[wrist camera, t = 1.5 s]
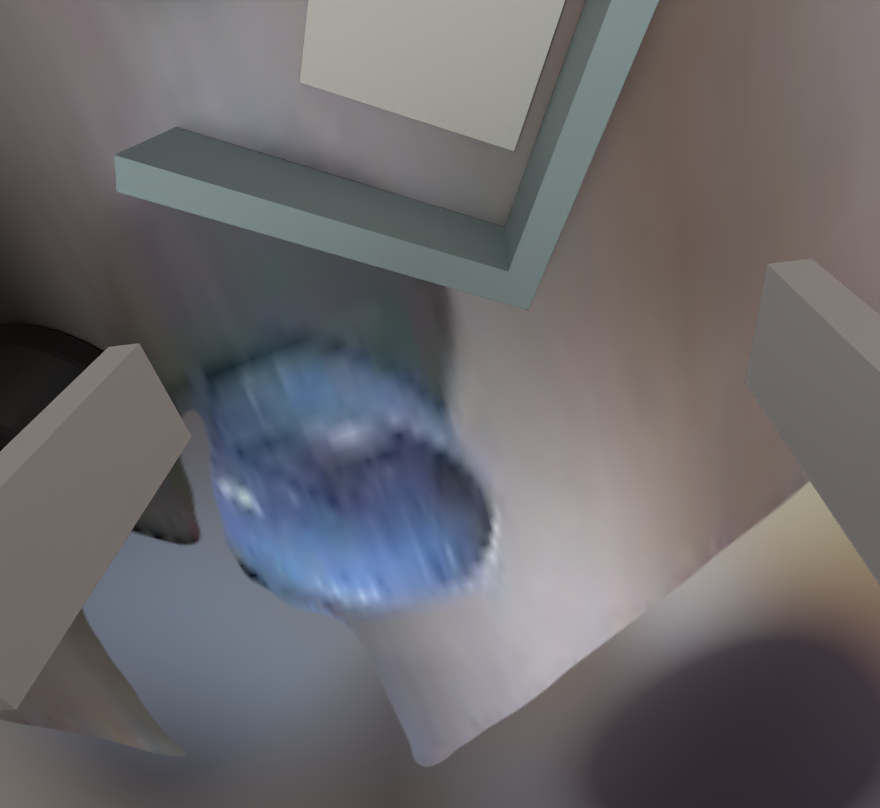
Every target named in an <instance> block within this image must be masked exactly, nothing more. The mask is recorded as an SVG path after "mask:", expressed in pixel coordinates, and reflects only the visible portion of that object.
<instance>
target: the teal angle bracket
mask: <svg viewBox="0 0 880 808" xmlns="http://www.w3.org/2000/svg"><path fill="white" fill-rule="evenodd" d="M658 2H659V0H586V1H585V4H584V7H583V10H582V12H581V15H580V18H579V21H578V24H577V26H576V29H575V32H574V35H573V38H572V40H571V43H570V46H569V49H568V52H567V54H566V57H565V60H564V63H563V66H562V68H561V71H560V74H559V77H558V80H557V82H556V85H555V88H554V91H553V94H552V97H551V99H550V102H549V105H548V108H547V111H546V113H545V116H544V119H543V122H542V125H541V127H540V130H539V133H538V136H537V139H536V141H535V144H534V147H533V150H532V153H531V155H530V158H529V161H528V164H527V167H526V169H525V172H524V175H523V178H522V181H521V183H520V186H519V189H518V192H517V195H516V197H515V200H514V203H513V206H512V209H511V211H510V214H509V217H508V220H507V223H506V225H505V227H502V226H499V225H495V224H492V223H489V222H486V221H482V220H479V219H476V218H473V217H469V216H466V215H463V214H459V213H456V212H453V211H450V210H446V209H443V208H440V207H436V206H433V205H430V204H427V203H423V202H420V201H417V200H413V199H410V198H407V197H404V196H400V195H397V194H394V193H390V192H387V191H384V190H381V189H377V188H374V187H371V186H368V185H364V184H361V183H358V182H354V181H351V180H348V179H345V178H341V177H338V176H335V175H331V174H328V173H325V172H322V171H318V170H315V169H312V168H308V167H305V166H302V165H299V164H295V163H292V162H289V161H285V160H282V159H279V158H276V157H272V156H269V155H266V154H262V153H259V152H256V151H253V150H249V149H246V148H243V147H240V146H236V145H233V144H230V143H226V142H223V141H220V140H217V139H213V138H210V137H207V136H203V135H200V134H197V133H194V132H190V131H187V130H184V129H180V128H177V127H175V128H173V129H171V130H168V131H166V132H164V133H162V134H160V135H157V136H155V137H153V138H151V139H149V140H146V141H144V142H142V143H140V144H138V145H135V146H133V147H131V148H129V149H127V150H124V151H122V152H120V153H118V154H115V155H114V160H115V173H116V186H117V192H120V193H124V194H127V195H130V196H134V197H137V198H141V199H144V200H148V201H151V202H155V203H158V204H162V205H165V206H169V207H172V208H175V209H179V210H182V211H186V212H189V213H193V214H196V215H200V216H203V217H207V218H210V219H214V220H217V221H221V222H224V223H227V224H231V225H234V226H238V227H241V228H245V229H248V230H252V231H255V232H259V233H262V234H266V235H269V236H272V237H276V238H279V239H283V240H286V241H290V242H293V243H297V244H300V245H304V246H307V247H311V248H314V249H318V250H321V251H324V252H328V253H331V254H335V255H338V256H342V257H345V258H349V259H352V260H356V261H359V262H363V263H366V264H369V265H373V266H376V267H380V268H383V269H387V270H390V271H394V272H397V273H401V274H404V275H408V276H411V277H415V278H418V279H421V280H425V281H428V282H432V283H435V284H439V285H442V286H446V287H449V288H453V289H456V290H460V291H463V292H466V293H470V294H473V295H477V296H480V297H484V298H487V299H491V300H494V301H498V302H501V303H505V304H508V305H511V306H515V307H518V308H522V309H525V310H528V309H529V307H530V305H531V302H532V300H533V298H534V295H535V293H536V290H537V288H538V286H539V283H540V281H541V279H542V276H543V274H544V271H545V269H546V267H547V264H548V262H549V260H550V257H551V255H552V253H553V250H554V248H555V245H556V243H557V241H558V238H559V236H560V234H561V231H562V229H563V226H564V224H565V222H566V219H567V217H568V215H569V212H570V210H571V208H572V205H573V203H574V200H575V198H576V196H577V193H578V191H579V189H580V186H581V184H582V181H583V179H584V177H585V174H586V172H587V170H588V167H589V165H590V163H591V160H592V158H593V155H594V153H595V151H596V148H597V146H598V144H599V141H600V139H601V136H602V134H603V132H604V129H605V127H606V125H607V122H608V120H609V118H610V115H611V113H612V110H613V108H614V106H615V103H616V101H617V99H618V96H619V94H620V92H621V89H622V87H623V84H624V82H625V80H626V77H627V75H628V73H629V70H630V68H631V65H632V63H633V61H634V58H635V56H636V54H637V51H638V49H639V47H640V44H641V42H642V39H643V37H644V35H645V32H646V30H647V28H648V25H649V23H650V20H651V18H652V16H653V13H654V11H655V9H656V6H657V4H658Z"/></svg>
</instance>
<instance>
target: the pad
mask: <svg viewBox="0 0 880 808" xmlns="http://www.w3.org/2000/svg"><path fill="white" fill-rule="evenodd" d="M564 3H565V0H308V9H307V18H306V27H305V37H304V46H303V55H302V64H301V74H300V83H303V84H306V85H309V86H312V87H315V88H319V89H322V90H325V91H328V92H331V93H334V94H337V95H340V96H343V97H347V98H350V99H353V100H356V101H359V102H362V103H365V104H368V105H371V106H375V107H378V108H381V109H384V110H387V111H390V112H393V113H396V114H399V115H403V116H406V117H409V118H412V119H415V120H418V121H421V122H424V123H427V124H431V125H434V126H437V127H440V128H443V129H446V130H449V131H452V132H455V133H459V134H462V135H465V136H468V137H471V138H474V139H477V140H480V141H483V142H487V143H490V144H493V145H496V146H499V147H502V148H505V149H508V150H511V151H514V150H515V147H516V144H517V142H518V139H519V136H520V133H521V130H522V127H523V124H524V121H525V118H526V115H527V112H528V109H529V106H530V103H531V100H532V97H533V94H534V91H535V88H536V85H537V82H538V79H539V76H540V73H541V71H542V68H543V65H544V62H545V59H546V56H547V53H548V50H549V47H550V44H551V41H552V38H553V35H554V32H555V29H556V26H557V23H558V20H559V17H560V14H561V11H562V8H563V5H564Z"/></svg>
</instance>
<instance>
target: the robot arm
mask: <svg viewBox="0 0 880 808" xmlns="http://www.w3.org/2000/svg"><path fill="white" fill-rule="evenodd" d="M745 384H746V386H747V387H748V389H749V390H750V392H751V393H752V395H753V396H754V398H755V399H756V401H757V402H758V404H759V405H760V407H761V408H762V410H763V411H764V413H765V414H766V416H767V417H768V419H769V420H770V422H771V423H772V425H773V426H774V428H775V429H776V431H777V432H778V434H779V435H780V437H781V438H782V440H783V441H784V443H785V444H786V446H787V447H788V449H789V450H790V452H791V453H792V455H793V456H794V458H795V459H796V461H797V462H798V464H799V465H800V467H801V468H802V470H803V471H804V473H805V474H806V476H807V477H808V479H809V480H810V482H811V483H812V485H813V486H814V487H815V489H816V490H817V492H818V493H819V495H820V497H821V498H822V500H823V501H824V502H825V504H826V505H827V507H828V509H829V510H830V512H831V513H832V515H833V516H834V518H835V519H836V521H837V522H838V524H839V525H840V526H841V528H842V530H843V531H844V532H845V534H846V536H847V537H848V539H849V540H850V541H851V543H852V545H853V546H854V548H855V549H856V550H857V552H858V553H859V555H860V557H861V558H862V559H863V561H864V563H865V564H866V566H867V567H868V568H869V570H870V572H871V573H872V575H873V576H874V577H875V579H876V580H877V582H878V583H879V585H880V315H879V314H878V313H877V312H876V311H875V310H873V309H872V308H871V307H870V306H868V305H867V304H866V303H865V302H864V301H862V300H861V299H860V298H859V297H857V296H856V295H855V294H854V293H853V292H851V291H850V290H849V289H848V288H847V287H845V286H844V285H843V284H842V283H840V282H839V281H838V280H837V279H836V278H834V277H833V276H832V275H831V274H829V273H828V272H827V271H826V270H825V269H823V268H822V267H821V266H820V265H819V264H817V263H816V262H815V261H814V260H812V259H803V260H796V261H788V262H780V263H772V264H767V269H766V274H765V279H764V285H763V290H762V295H761V301H760V306H759V311H758V316H757V322H756V327H755V332H754V338H753V343H752V348H751V353H750V359H749V364H748V369H747V375H746V380H745ZM191 437H192V436H191V435H190V433H189V431H188V429H187V428H186V426H185V424H184V422H183V420H182V418H181V417H180V415H179V413H178V411H177V410H176V408H175V406H174V404H173V402H172V401H171V399H170V397H169V395H168V394H167V392H166V390H165V388H164V386H163V385H162V383H161V381H160V379H159V378H158V376H157V374H156V372H155V370H154V369H153V367H152V365H151V363H150V361H149V360H148V358H147V356H146V354H145V353H144V351H143V349H142V347H141V345H140V344H139V343H137V344H129V345H121V346H113V347H108V348H107V349H106V350H105V351H104V352H103V353H102V352H101V351H99V350H97V349H96V348H94V347H92V346H90V345H88V344H86V343H85V342H82V341H80V340H78V339H76V338H74V337H71V336H69V335H66V334H63V333H60V332H57V331H54V330H50V329H46V328H42V327H37V326H31V325H22V324H5V325H0V710H16V709H17V708H18V706H19V704H20V703H21V701H22V700H23V698H24V697H25V695H26V694H27V692H28V691H29V689H30V687H31V686H32V684H33V683H34V681H35V680H36V678H37V677H38V675H39V673H40V672H41V670H42V669H43V667H44V666H45V664H46V663H47V661H48V659H49V658H50V656H51V655H52V653H53V652H54V650H55V649H56V647H57V645H58V644H59V642H60V641H61V639H62V638H63V636H64V635H65V633H66V631H67V630H68V628H69V627H70V625H71V624H72V622H73V621H74V619H75V618H76V616H77V614H78V613H79V611H80V610H81V608H82V607H83V605H84V604H85V602H86V600H87V599H88V597H89V596H90V594H91V593H92V591H93V590H94V588H95V586H96V585H97V583H98V582H99V580H100V579H101V577H102V576H103V574H104V572H105V571H106V569H107V568H108V566H109V565H110V563H111V562H112V560H113V558H114V556H115V555H116V554H117V552H118V551H119V549H120V547H121V546H122V544H123V543H124V541H125V540H126V538H127V537H128V535H129V533H130V532H131V531H132V529H133V527H134V526H135V524H136V523H137V521H138V520H139V518H140V517H141V515H142V513H143V512H144V510H145V509H146V507H147V506H148V504H149V503H150V501H151V499H152V498H153V496H154V495H155V493H156V492H157V490H158V489H159V487H160V486H161V484H162V482H163V481H164V479H165V478H166V476H167V475H168V473H169V472H170V470H171V468H172V467H173V465H174V464H175V462H176V461H177V459H178V458H179V456H180V454H181V453H182V451H183V450H184V448H185V447H186V445H187V444H188V442H189V440H190V439H191Z"/></svg>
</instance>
